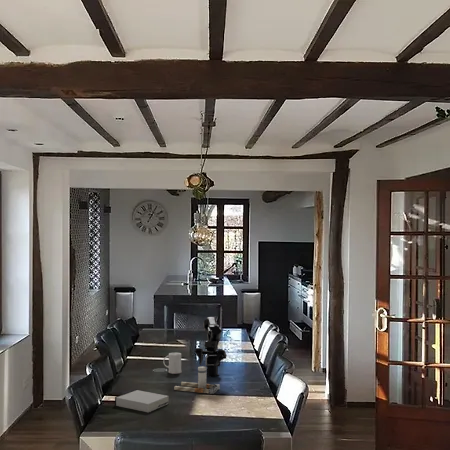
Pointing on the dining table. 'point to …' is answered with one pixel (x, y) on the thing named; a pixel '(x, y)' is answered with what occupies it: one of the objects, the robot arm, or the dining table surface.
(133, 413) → the dining table surface
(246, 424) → the dining table surface
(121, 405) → the disc drive
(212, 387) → the beige u-shaped frame
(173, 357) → the mug
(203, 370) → the grey capped post
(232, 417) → the dining table surface
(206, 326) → the robot arm
